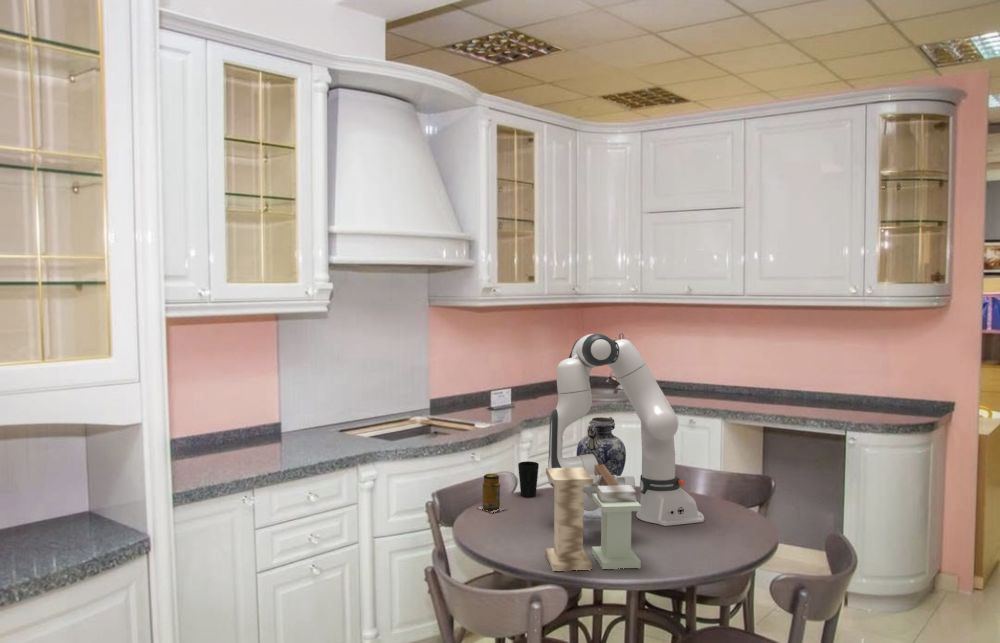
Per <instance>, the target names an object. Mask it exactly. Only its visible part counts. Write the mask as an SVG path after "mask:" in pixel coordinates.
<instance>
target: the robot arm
mask: <svg viewBox="0 0 1000 643" xmlns="http://www.w3.org/2000/svg"><path fill="white" fill-rule="evenodd" d="M647 364H648V363H646V361H645V359H644V357H643V356H642V355H641V353H640V352H639V350H638V348H636V347H635V345H634V344H633V343H632V341H630V340H629V339H625V338H622V339H617V340H613V339H612V338H610V337H609V336H607V335H605V334H602V333H590V334H586V335H584V336H581V337H579V338H577V340H575V342H574V343H573V345H572V349H571V351H570V354H569V356H568V358H565V359H563V360H561V361H560V362H559V363H558V365H557V367H556V386H557V389H556V390H557V394H558V395H557V396H558V399H557V405H556V407H555V409H553V410H552V411H551V414H550V417H549V418H550V419H549V433H548V434H549V436H548V437H549V438H548V439H549V440H548V459H547V460H548V462H547V468H577V467H583V468H584V469H585V470H586V472H587V473H588V474H589V475H590V476H591V477H592V478H593V484H588V485H583V511H586V512H593V511H597V510H598V509H600V508H599V506H598V505H597V504H596V503H595V501H594V500H593V494H597V486H602V485H601V483H600V482H602V475H597V476H595V474H594V467H595V465H603V462H602V461H601V460H600V459H599V458H598V457H597V456H596V455H594V454H586V455H579V456H577V455H576V456H570V457H563V439H564V438H563V436H564V432H565V431H566V429H567V428H568V427H569V426H570V425H572V424H573V423H575V422H576V421H578V420H580V419H582V418H583V417H584V416H586V414H587V413H588V412H589V411H590V409H591V408H592V405H593V397H592V396H593V395H592V389H591V383H590V375H591V372H592V369H594V368H598V367H602V366H606V365H607V367H609V368H610V369H611V370H612V372H613V374H614V377H615V378H616V379H617V382H618V383H619V384H620V387H621V389H622V390H623V393H624V394H625V395H626V397H627V399H628V401H629V403H630V405H631V406H632V408H633V410H634V411H635V413H636V415H637V417H638V418H639V420H640V430H641V432H640V433H641V436H640V437H641V438H640V439H641V475H640V478H639V479H640V480H639V491H640V497H639V502H638V503H639V504H640V505H641V506H642V511H636V513H635V514H636V517H637V519H639V520H641V521H643V522H647V523H653V524H658V525H659V526H665V527H668V526H678V525H685V524H686V525H687V524H688V525H689V524H695V523H703V522H704V521H705V516H704V514H703V513H702V512H701V511H699V510H698V505H697V502H696V499H694V498H693V496H691V495H690V494H689V493H688V492H687V491H685V490H684V489H682V488H681V487H684V486H686V481H685V480H684V479H682V478H679V477H677V476H676V449H675V436H676V433H677V431H678V429H679V419H678V416H677V414H676V413H675V411H674V409H673V408H672V406H671V404H670V402H669V401H668V399H667V398H666V397H667V396H665V394H664V392H663V390H662V388H661V387H660V386H659V384H658V382H657V380H656V378H655V377H654V375H653V373H652V371H651V370H650V368H649V366H648V365H647ZM612 476H613V478H614V479H615V480H616V482H617V483H618V484H619V485H631V486H632V487H633V488H634V489H635V488H636V482H635V477H634V475H621V476H616V475H612ZM546 477H547V480H548V483H549V485H550V486H551V487H553V488H554V485H553V483H552V482H551V480H550V479H549V477H548V476H547V475H546Z"/></svg>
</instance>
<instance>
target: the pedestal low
mask: <svg viewBox="0 0 1000 643" xmlns="http://www.w3.org/2000/svg"><path fill="white" fill-rule="evenodd" d="M593 500H594V501H595V503H596V504H597V505H598V506H599V508H598V509H600V511H601V514H600V515H601V519H600V520H601V525H600V528H601V529H600V530H601V532H600V535H601V536H600V539H601V540H600V545H599V546H591V555H592V556H593V555H594V556H593V557H594V559H595V558H596V559H595V561H596V560H597V561H598V562H597V561H596V562H597V564H598V563H599V564H600V565H599V564H598V565H599V567H600V566H601V567H602V568H601V567H600V568H601V570H602V569H614V570H621V569H620V568H623V569H622V570H625V569H624V568H638V569H641V568H642V566H641V565H642V564H641V563H642V561H641V560H640V558H639V557H638V556H637V554H635V552H634V551H633V550H632V512H637V511H642V506H641V505H640V504H639V503H640V502H639V501H637V499H636V500H635V501H632V502H602V503H601V501H600V500H599V498H598V497H597V494H593ZM618 568H619V569H618Z"/></svg>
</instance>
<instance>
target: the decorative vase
mask: <svg viewBox="0 0 1000 643" xmlns="http://www.w3.org/2000/svg"><path fill="white" fill-rule="evenodd" d="M615 425H616V423H615V419H614V418H613V417H611V416H609V417H598V416H597V417H593V418H591V420H590V421H589V425H588V426H587V429H586V430H587V431H586V432H587V433H586V434H587V435H585V436H584V437H582V438H581V439H580V441H579V442H578V444H577V447H576V456H579V455H586V454H594V455H596V456H597V457H598V458H599V459H600V460H601V461H602V462H603V465H605V467H606V468H607V469H608V471H609V472H610V473H611V475H616V476H622V474H623V472H624V469H625V466H626V461H627V460H626V459H627V451H626V446H625V444H624V441H623V440H622V439H620V438H619V437H617V435H614V434H613V433H612V432H613V430H615V429H616V428H615V427H616V426H615Z"/></svg>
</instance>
